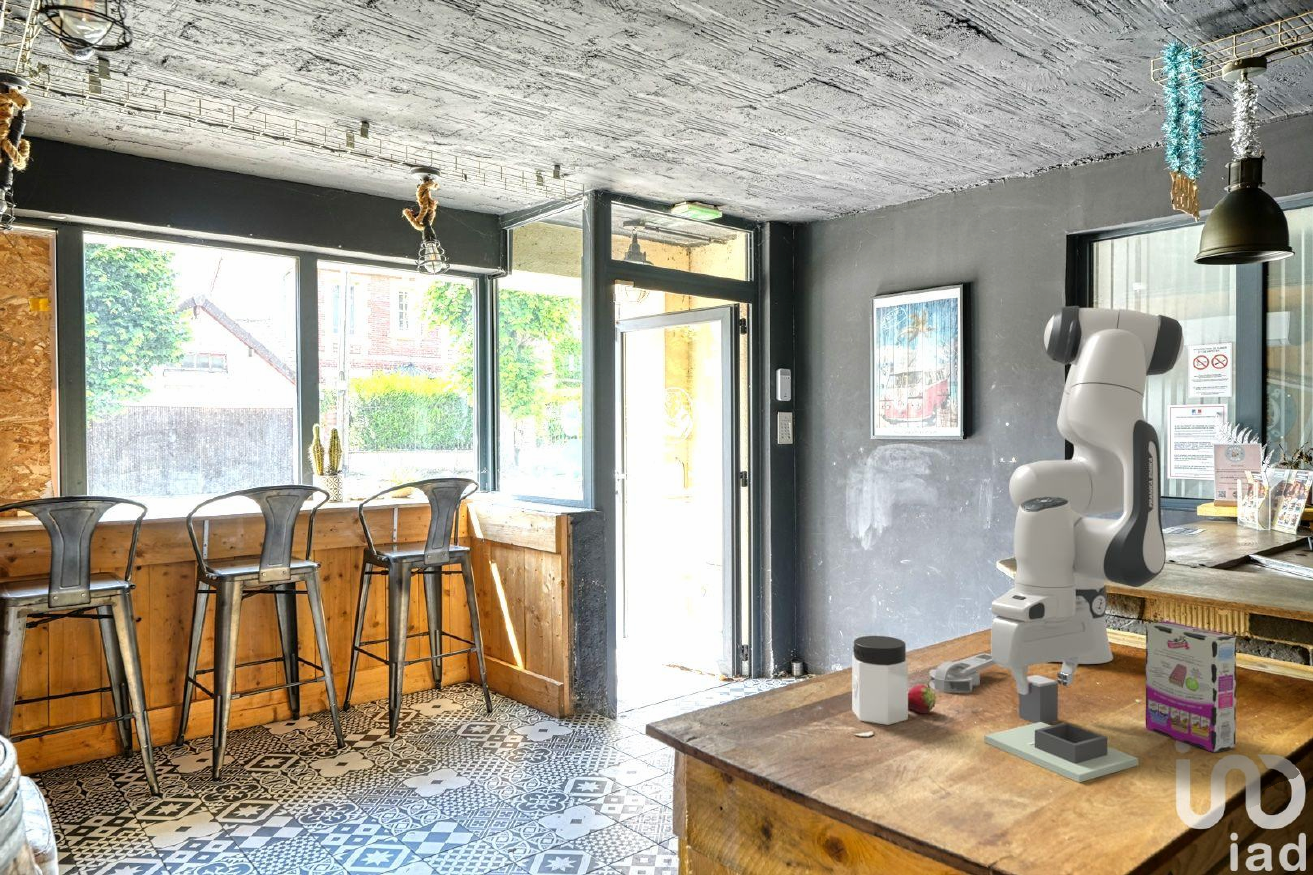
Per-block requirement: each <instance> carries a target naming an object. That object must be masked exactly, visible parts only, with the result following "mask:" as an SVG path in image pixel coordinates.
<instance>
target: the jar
mask: <svg viewBox="0 0 1313 875" xmlns="http://www.w3.org/2000/svg"><path fill="white" fill-rule="evenodd" d="M906 648H907V645H906V642H905V641H903V640H902V639H899V638H896V637H893V636H892V637H891V636H884V635H865V636H860V637H857V638H855V639H854V641H853V648H852V649H853V650H852V652H853V654H852V655H851V687H852V688H851V697H852V699H851V701H852V703H851V709H852V712H853V713H854V715H855V716H856V718H857V719H858V720H859V721H860V722H865V723H866V722H867V723H870V724H871V723H874V724H880V725H883V726H884V725H885V726H889V725H893V724H897V723H900V722H903V721H904V722H905V721H907V720H909V708H908V693H909V662H908V660H907V659H906V658H907V657H906V656H907V654H906V652H907V651H906V650H907V649H906Z"/></svg>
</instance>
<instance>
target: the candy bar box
mask: <svg viewBox="0 0 1313 875" xmlns="http://www.w3.org/2000/svg"><path fill="white" fill-rule="evenodd" d="M1236 686H1237V636H1236V635H1231V634H1226V633H1222V632H1217V631H1213V630H1209V629H1203V628H1199V627H1195V626H1190V625H1185V624H1181V623H1177V622H1172V621H1167V620H1165V621H1157V622H1151V623H1150V622H1149V623H1146V624H1145V729H1147V730H1149V731H1152V732H1154V733H1157V734H1160V735H1163V736H1166V737H1168V738H1171V739H1175V740H1176V741H1180V742H1183V743H1186V744H1189V745H1191V746H1195V747H1197V748H1200V749H1203V750H1206V751H1209V752H1211V753H1218V752H1223V751H1227V750H1232V749H1236V728H1237V727H1236V725H1237V723H1236V713H1237V712H1236V710H1237V709H1236V708H1237V707H1236V705H1237V704H1236V703H1237V701H1236V700H1237V692H1236V691H1237V690H1236V688H1237V687H1236Z"/></svg>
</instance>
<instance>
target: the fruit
mask: <svg viewBox="0 0 1313 875" xmlns="http://www.w3.org/2000/svg"><path fill="white" fill-rule="evenodd" d="M936 698H937V697H936V692H935V691H934V690H931V687H930V685H929V683H928V685H927V686H926V685H925V684H918V685H917V684H916V685H915V686H913V687H912V688H911V689H909V690H908V710H909V709H910V710H912V711H915V712H917V713H921V714H925V713H929V712H930V711H932V709H933V708H935V704H936Z"/></svg>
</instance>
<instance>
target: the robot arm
mask: <svg viewBox="0 0 1313 875" xmlns="http://www.w3.org/2000/svg"><path fill="white" fill-rule="evenodd" d="M1184 338H1185V337H1184V333H1183V326H1182V324H1180V322H1179V320H1177V319H1175V318H1172V317H1170V316H1167V315H1162V314H1158V315H1154V314H1150V313H1146V312H1142V311H1136V310H1131V309H1125V308H1118V309H1116V308H1114V309H1113V308H1104V307H1103V308H1099V307H1080V305H1071V306H1070V305H1069V306H1062V307H1059V309H1057V310H1056V311H1055V312H1054V314H1053V315H1052V316H1051V317H1050V319H1049V321H1048V322H1047V324H1046V327H1045V328H1044V334H1043V341H1044V342H1043V343H1044V347H1045V349H1046V352H1045V353H1046V354H1047V356H1048V357H1049V358H1050V359H1051V360H1052V361H1054V362H1056V363H1059V364H1062V365H1065V366H1067V365H1068V364H1070V365H1071V366H1070V368H1069V371H1068V374H1067V377H1066V381H1065V385H1064V387H1063V388H1064V390H1063V393H1062V397H1061V401H1060V402H1061V403H1060V406H1059V411H1058V416H1057V420H1056V427H1057V429H1058V432H1059V434H1060V435H1061V436H1062V438H1064V439H1065V440H1066V441H1068V442H1069V443H1071V444H1072V445H1073V455H1072V458H1070V459H1056V460H1055V459H1054V460H1053V459H1052V460H1049V459H1048V460H1047V459H1046V460H1039V461H1034V462H1030V463H1027V464H1022V465H1020V466H1018V467H1017V468H1016V469H1015V470H1014V471H1013V473H1012V474H1011V477H1010V480H1009V484H1008V487H1009V488H1008V490H1009V491H1008V492H1009V496H1010V499H1011V501H1012V503H1013V505H1014V506H1015V507H1016V508H1017V513H1016V518H1015V523H1014V531H1013V532H1014V535H1013V537H1014V538H1013V539H1014V540H1013V554H1014V559H1015V562H1016V572H1015V574H1014V587H1012V588H1010V589H1009V590H1008V591H1007V592H1005V593H1004V594H1003V595H1001V596H999V597H997V598H996V599H994V600H993V601H992V602H991V605H990V608H991V613H992V615H994V616H995V615H996V617H995V618H993V621H992V623H991V629H990V654H991V656H992V659H993V661H994V663H995V664H994V665H996V666H998V667H1001V668H1005V669H1008V670H1010V672H1011V674H1012V676H1013V678H1014V681H1015V682H1016V693H1018V694H1019V693H1020V694H1023V695H1027V694H1030V693H1032V692H1033V690H1032V687H1033V683H1032V682H1028V679H1027V677H1028V676H1027V674H1028V673H1029V667H1032V666H1036V665H1042V664H1047V663H1053V662H1054V663H1057V662H1058V663H1062V665H1061V669H1060V672H1057V680H1056V683H1058V685H1061V686H1066V687H1067V686H1070V685H1073V683H1074V674H1075V672H1076V669H1077V667H1078V666H1079V665H1095V664H1097V665H1099V664H1104V663H1108V662H1111V661H1113V659H1114V655H1113V653H1112V649H1111V646H1110V641H1109V637H1108V636H1109V635H1108V630H1107V624H1106V623H1107V622H1106V611H1107V600H1108V598H1107V586H1106V585H1105V581H1110V582H1112V583H1115V584H1120V585H1123V586H1128V587H1132V588H1139V587H1142V586H1143V585H1145V584H1147V583H1149V582H1151V581H1152V580H1153V579H1155V578H1156V577H1158V575H1160V573H1162V571H1163V569H1164V568H1165V563H1166V555H1167V554H1166V542H1165V537H1164V531H1163V525H1162V481H1161V480H1162V478H1161V477H1162V476H1161V473H1162V472H1161V470H1162V468H1161V451H1160V450H1161V449H1160V442H1159V436H1158V434H1157V431H1156V429H1155V428H1154V426H1153V425H1152V424H1150V423H1148V422H1147V421H1146V419H1145V414H1144V410H1143V408H1144V406H1143V404H1144V397H1145V392H1146V382H1147V376H1157V375H1163V374H1166V373H1168V372H1170V371H1171V370H1172V369H1174V367H1175V364H1177V362H1178V361H1179V359H1180V358H1181V356H1182V354H1183V352H1184V344H1185V339H1184ZM1119 511H1123V513H1122V515H1121V517H1118V519H1112V518H1103V517H1101V518H1100V517H1099V518H1098V517H1091V516H1090V515H1106V514H1112V513H1116V512H1119ZM1086 515H1089V516H1086Z"/></svg>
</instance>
